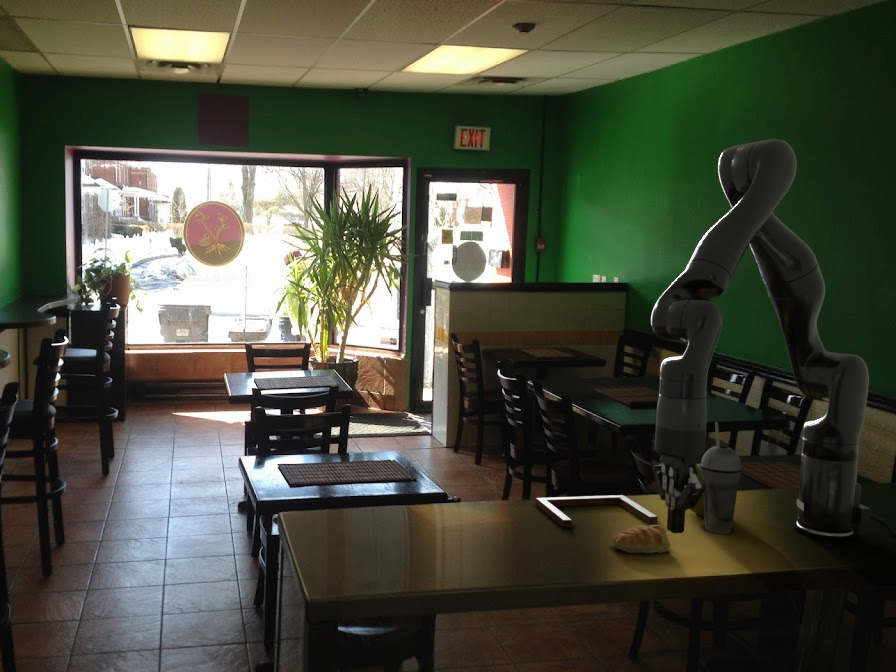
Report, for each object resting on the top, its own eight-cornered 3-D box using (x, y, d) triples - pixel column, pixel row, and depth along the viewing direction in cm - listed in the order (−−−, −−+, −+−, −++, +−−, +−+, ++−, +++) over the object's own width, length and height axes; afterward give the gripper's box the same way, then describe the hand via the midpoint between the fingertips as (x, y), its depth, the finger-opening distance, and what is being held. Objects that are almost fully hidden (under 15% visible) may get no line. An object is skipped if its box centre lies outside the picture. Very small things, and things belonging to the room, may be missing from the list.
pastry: (625, 557, 148) (626, 534, 148) (603, 544, 155) (604, 523, 155) (673, 552, 151) (674, 530, 151) (649, 540, 158) (650, 518, 158)
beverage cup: (742, 537, 160) (748, 427, 159) (700, 533, 162) (705, 424, 160) (735, 525, 167) (740, 419, 166) (694, 521, 169) (699, 417, 167)
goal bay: (622, 501, 181) (623, 494, 181) (657, 523, 167) (657, 516, 167) (535, 504, 178) (535, 497, 178) (563, 527, 164) (563, 520, 164)
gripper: (726, 432, 135) (719, 544, 136) (681, 415, 148) (676, 518, 149) (680, 433, 133) (674, 546, 135) (639, 416, 146) (634, 519, 148)
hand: (675, 531), depth 142 cm, fingers closed
